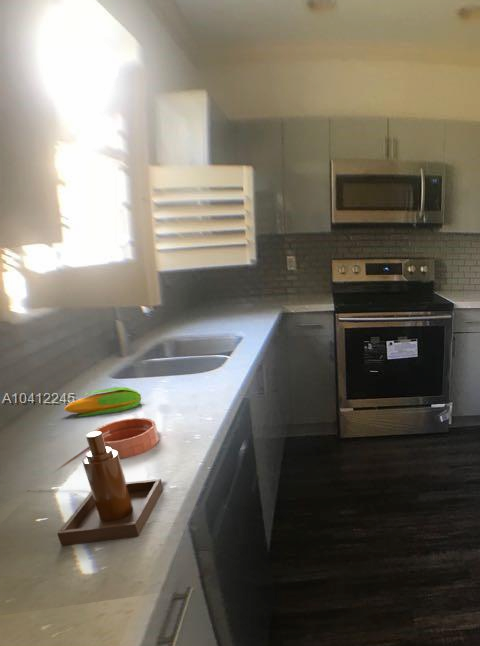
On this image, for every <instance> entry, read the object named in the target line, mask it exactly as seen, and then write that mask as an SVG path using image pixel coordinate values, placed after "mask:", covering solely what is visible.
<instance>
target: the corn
mask: <svg viewBox="0 0 480 646" xmlns="http://www.w3.org/2000/svg"><path fill="white" fill-rule="evenodd" d="M91 394H93V395H91ZM83 395H84V396H85V397H82V398H79V399H77V400H74V401H71V402H70V403H68V404H67V405H66V406H65V407H64V410H65V411H66V412H68V413H70V414H72V413H73V414H78V415H76V418H81V417H82V418H83V417H90V416H98V415H104V414H111V413H119V412H123V411H126V410H130V409H133V408H135V407H137V406H139V405H140V403H141V401H142V396H141V395H142V394H141V393H140V392H139V391H137V390H135V389H132V388H129V387H121V386H120V387H117V386H114V387H110V388H103V389H98V390H94V391H90V392H89V391H88V392H85V393H83ZM86 395H89V396H86Z"/></svg>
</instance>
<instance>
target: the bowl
mask: <svg viewBox="0 0 480 646" xmlns="http://www.w3.org/2000/svg"><path fill="white" fill-rule="evenodd" d="M96 431H100V432H102V435H103V439H104V443H105V446H106V447H110V448H111V449H112V450H116V451H117V452H118V455H119V458H120V460H121V459H126V458H131V457H134V456H137V455H140V454H142V453H145V452H147V451H149V450H151V449H153V448H154V447H155V446H156V445H157V444H159V440H160V438H159V434H158V430H157V425H156V421H154V420H152V419H151V418H146V417H134V418H126V419H121V420H116V421H113V422H109V423H105V424H104V425H101V426H99V427H97V428H96V429H94V430H92V432H96Z"/></svg>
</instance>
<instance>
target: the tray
mask: <svg viewBox="0 0 480 646" xmlns="http://www.w3.org/2000/svg"><path fill="white" fill-rule="evenodd" d="M126 484H127V487H128V491H129V495H130V498H131V502H132V505H133V510H132V512H131V513H130V514H129V515H127V516H125V517H123V518H121V519H119V520H115V521H102V520H101V519H100V517H99V514H98V510H97V507H96V504H95V501H94V497H93V494H92V491H91V490H90V492H89V493H88V494H87V496H86V497H85V498H84V499H83V500H82V502H81V503H80V504H79V506H78V507H77V508H76V509H75V511H74V512H73V513H72V514H71V516H70V517H69V518H68V519H67V521H66V522H65V523H64V525H62V527H61V528H60V530H59V531H58V532H57V534H56V535H57V537H58V541H59V543H60V545H61V547H63V546H64V547H65V546H72V545H79V544H80V545H82V544H88V543H95V542H104V541H112V540H121V539H128V538H136V537H139V536H140V535H141V533H142V531H143V529H144V528H145V525H146V523H147V521H148V520H149V518H150V516H151V515H152V513H153V510H154V508H155V506H156V505H157V502H158V500H159V499H160V497H161V495H162V494H163V491H164V489H163V487H164V486H163V482H162V478H156V479H155V478H154V479H145V480H138V481H128V482H127V481H126Z"/></svg>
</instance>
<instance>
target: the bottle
mask: <svg viewBox="0 0 480 646" xmlns="http://www.w3.org/2000/svg"><path fill="white" fill-rule="evenodd" d="M85 437H86V442H87V444H88V447H89V451H87V452H86V454H85V456H84V458H83V459H82V462H81V463H82V465H83V468H84V471H85V475H86V478H87V481H88V484H89V487H90V492H91V491H92V494H93V497H94V501H95V504H96V507H97V510H98V514H99V517H100V519H101V520H102V521H115V520H119V519H121V518H123V517H125V516H127V515H129V514H130V513H131V512H132V510H133V505H132V502H131V498H130V495H129V491H128V487H127V484H126V483H127V480H126V476H125V473H124V470H123V466H122V462H121V459H120V458H119V455H118V452H117V451H116V450H112V449H111V448H110V447H106V446H105V443H104V439H103V435H102V432H100V431H96V432H93V431H91V432H89V433H87V434H86V435H85Z"/></svg>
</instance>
